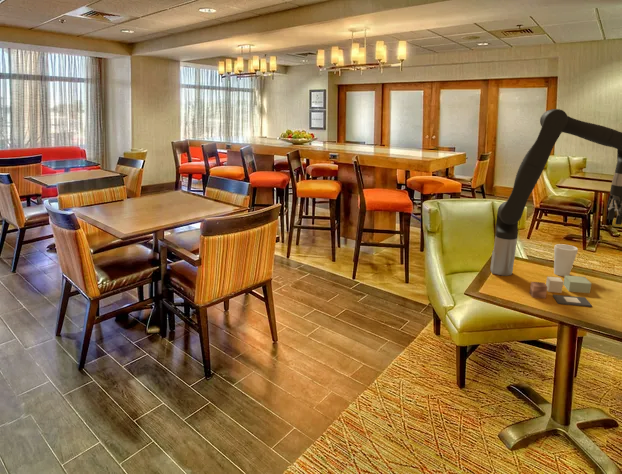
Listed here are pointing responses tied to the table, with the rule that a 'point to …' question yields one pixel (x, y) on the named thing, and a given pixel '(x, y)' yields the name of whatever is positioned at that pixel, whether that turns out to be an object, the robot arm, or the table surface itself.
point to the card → (572, 300)
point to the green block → (577, 284)
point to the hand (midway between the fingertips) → (614, 221)
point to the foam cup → (564, 259)
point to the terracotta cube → (538, 290)
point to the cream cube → (554, 284)
